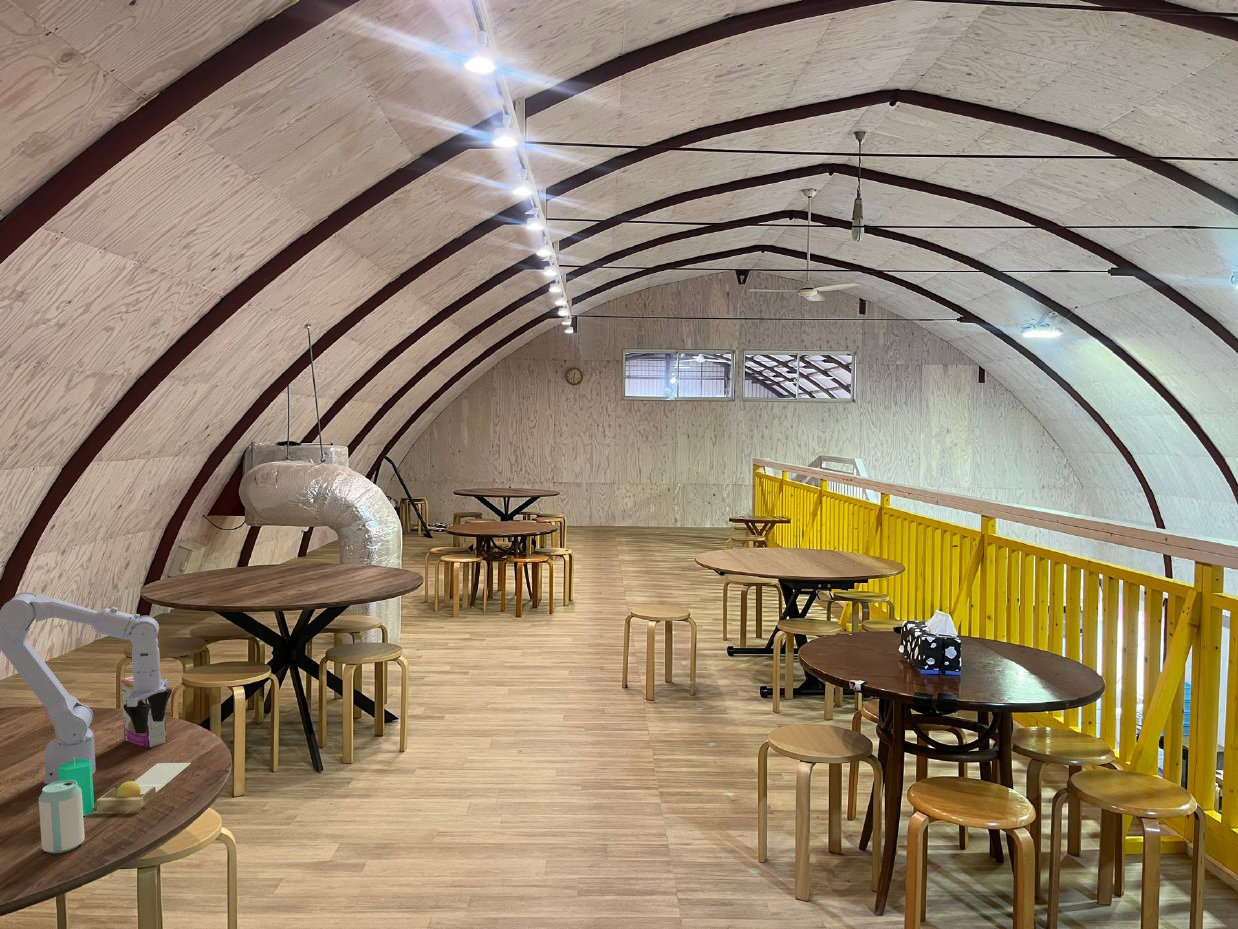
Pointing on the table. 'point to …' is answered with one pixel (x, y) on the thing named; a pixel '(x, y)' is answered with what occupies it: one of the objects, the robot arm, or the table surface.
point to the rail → (123, 801)
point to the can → (61, 816)
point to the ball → (128, 790)
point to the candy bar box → (154, 729)
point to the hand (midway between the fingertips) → (149, 727)
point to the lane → (159, 775)
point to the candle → (80, 780)
